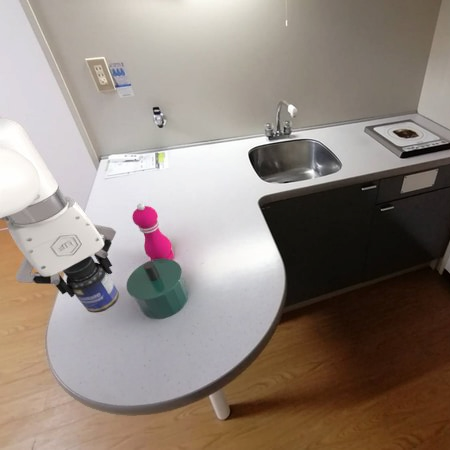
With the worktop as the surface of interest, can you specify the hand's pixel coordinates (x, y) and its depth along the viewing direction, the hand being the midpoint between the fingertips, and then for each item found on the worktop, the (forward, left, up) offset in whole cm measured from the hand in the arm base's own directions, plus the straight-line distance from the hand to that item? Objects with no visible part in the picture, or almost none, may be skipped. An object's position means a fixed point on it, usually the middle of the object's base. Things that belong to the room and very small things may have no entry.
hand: (89, 280), depth 58 cm
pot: (+11, +4, -21) cm, 24 cm away
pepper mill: (+19, +18, -21) cm, 34 cm away
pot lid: (+11, +4, -13) cm, 18 cm away
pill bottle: (0, 0, -6) cm, 6 cm away
